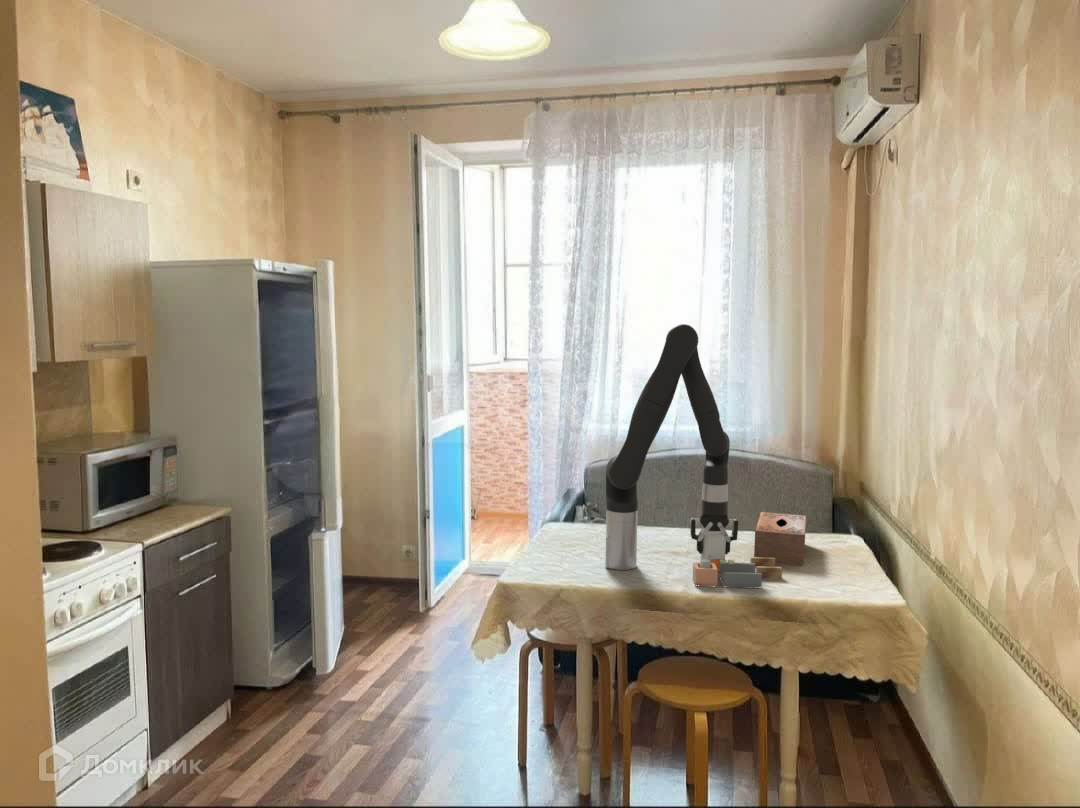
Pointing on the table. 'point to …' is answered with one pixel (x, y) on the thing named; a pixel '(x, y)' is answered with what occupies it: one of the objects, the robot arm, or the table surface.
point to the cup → (705, 573)
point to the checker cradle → (739, 574)
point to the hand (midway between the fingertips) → (713, 553)
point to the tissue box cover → (781, 538)
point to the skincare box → (713, 547)
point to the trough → (767, 567)
